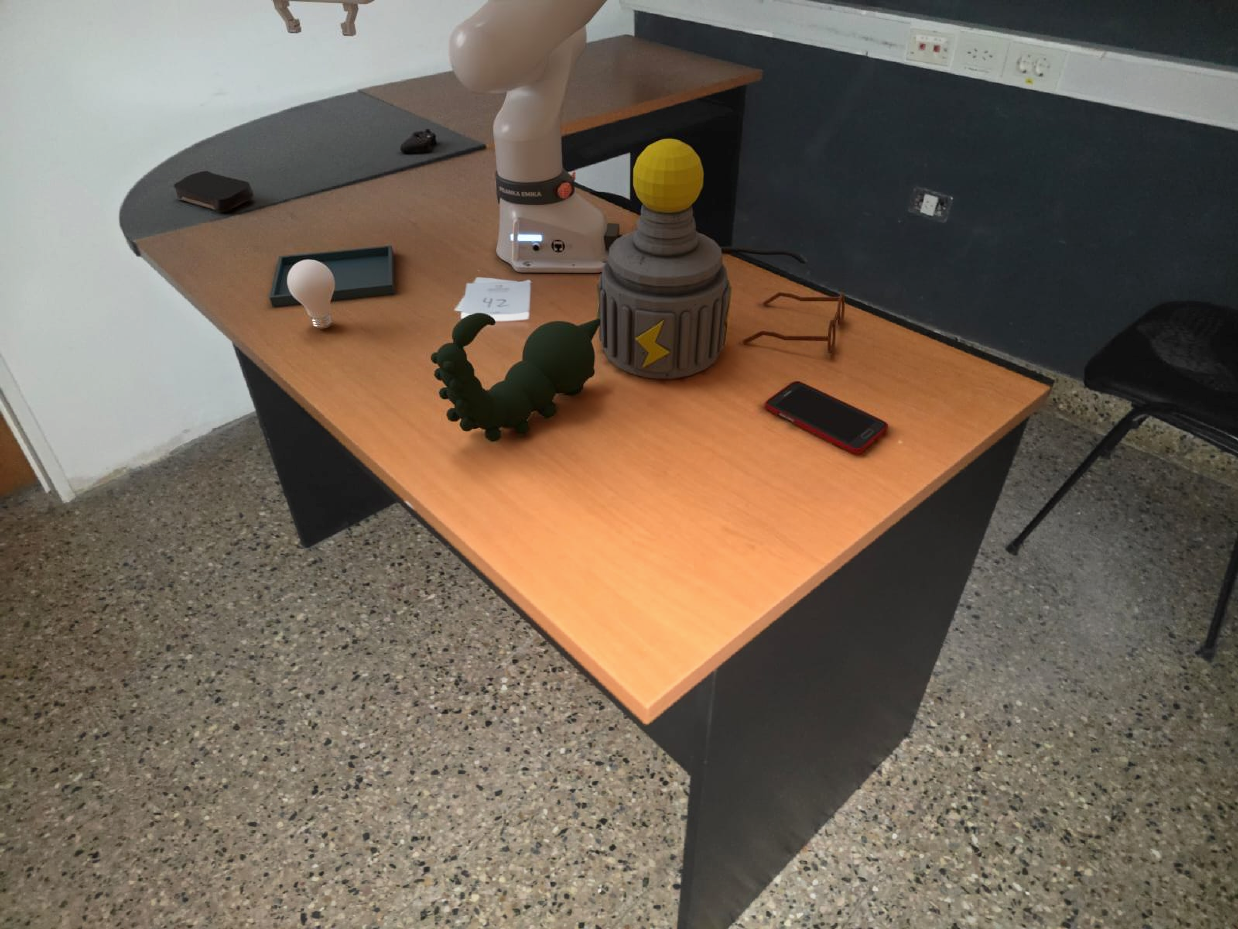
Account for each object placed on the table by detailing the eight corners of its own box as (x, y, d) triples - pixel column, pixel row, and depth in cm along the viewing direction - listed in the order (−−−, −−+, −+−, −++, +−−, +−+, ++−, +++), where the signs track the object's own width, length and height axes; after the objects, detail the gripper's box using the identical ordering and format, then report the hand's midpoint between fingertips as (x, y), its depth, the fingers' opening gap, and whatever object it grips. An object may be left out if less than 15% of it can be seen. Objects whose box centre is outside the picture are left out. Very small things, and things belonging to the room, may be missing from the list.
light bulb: (327, 312, 126) (309, 247, 118) (355, 325, 123) (338, 259, 115) (292, 330, 121) (271, 264, 114) (320, 343, 118) (300, 276, 111)
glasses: (830, 361, 114) (836, 331, 111) (742, 344, 118) (745, 314, 115) (844, 318, 124) (850, 289, 120) (762, 303, 127) (766, 275, 124)
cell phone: (857, 457, 98) (859, 451, 97) (761, 408, 105) (762, 402, 105) (889, 429, 102) (891, 423, 101) (794, 384, 110) (795, 378, 109)
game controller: (411, 135, 187) (425, 117, 184) (429, 152, 189) (443, 135, 186) (397, 149, 180) (411, 131, 177) (415, 167, 182) (430, 149, 179)
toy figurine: (488, 479, 98) (628, 382, 109) (456, 354, 84) (619, 260, 96) (443, 445, 103) (582, 356, 114) (406, 323, 89) (567, 236, 101)
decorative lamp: (719, 390, 109) (740, 172, 89) (586, 376, 112) (578, 162, 92) (729, 321, 123) (750, 121, 104) (611, 311, 126) (609, 113, 106)
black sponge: (260, 201, 160) (255, 183, 157) (225, 216, 154) (219, 197, 152) (208, 186, 166) (202, 169, 164) (172, 200, 161) (166, 182, 158)
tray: (393, 253, 141) (391, 245, 140) (394, 293, 130) (392, 284, 129) (281, 265, 138) (279, 255, 137) (272, 306, 127) (269, 297, 126)
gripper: (222, -71, 115) (251, 35, 124) (352, -68, 111) (372, 41, 120) (247, -76, 119) (273, 26, 128) (372, -73, 116) (390, 32, 125)
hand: (322, 33), depth 124 cm, fingers open, 8 cm apart
